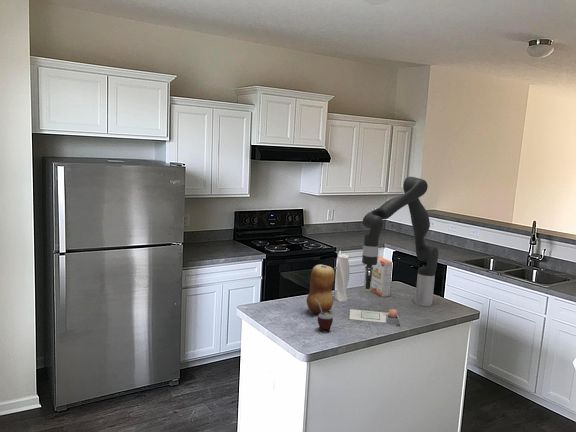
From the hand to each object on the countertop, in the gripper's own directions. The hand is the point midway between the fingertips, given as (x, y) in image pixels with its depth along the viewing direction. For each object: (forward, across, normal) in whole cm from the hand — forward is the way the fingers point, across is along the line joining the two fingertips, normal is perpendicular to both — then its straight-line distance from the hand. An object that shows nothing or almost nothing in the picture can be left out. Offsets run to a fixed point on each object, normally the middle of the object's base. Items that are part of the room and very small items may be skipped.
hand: (367, 287), depth 239 cm
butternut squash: (+16, -2, +24) cm, 28 cm away
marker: (+2, 0, 0) cm, 2 cm away
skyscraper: (+16, +22, +14) cm, 30 cm away
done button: (+12, -6, -13) cm, 18 cm away
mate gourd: (+16, -24, +20) cm, 34 cm away
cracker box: (+16, +42, -8) cm, 46 cm away
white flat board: (+15, 0, -4) cm, 16 cm away
